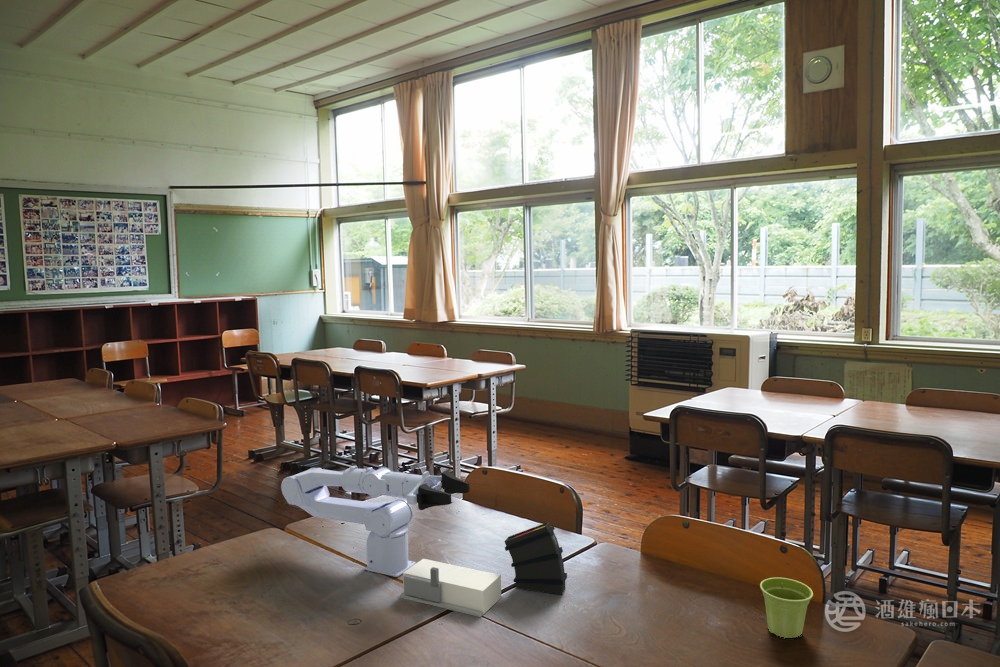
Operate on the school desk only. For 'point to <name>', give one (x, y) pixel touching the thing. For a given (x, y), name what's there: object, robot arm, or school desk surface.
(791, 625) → the plant pot
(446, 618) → the school desk surface
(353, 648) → the school desk surface
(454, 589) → the camera housing
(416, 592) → the side door
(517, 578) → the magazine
